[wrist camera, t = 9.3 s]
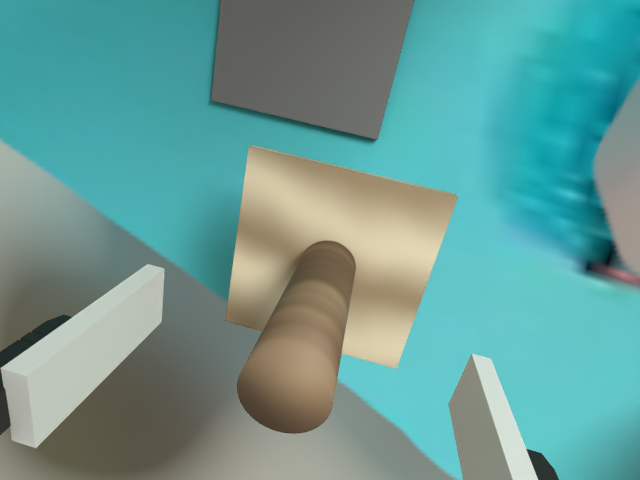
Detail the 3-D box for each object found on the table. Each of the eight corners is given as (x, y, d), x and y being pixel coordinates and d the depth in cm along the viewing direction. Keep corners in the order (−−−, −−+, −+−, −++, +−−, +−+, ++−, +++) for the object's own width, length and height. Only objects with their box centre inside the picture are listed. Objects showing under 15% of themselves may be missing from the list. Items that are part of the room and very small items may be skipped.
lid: (253, 145, 22) (125, 188, 11) (455, 194, 21) (529, 292, 10) (229, 314, 27) (121, 463, 16) (396, 361, 26) (404, 552, 15)
